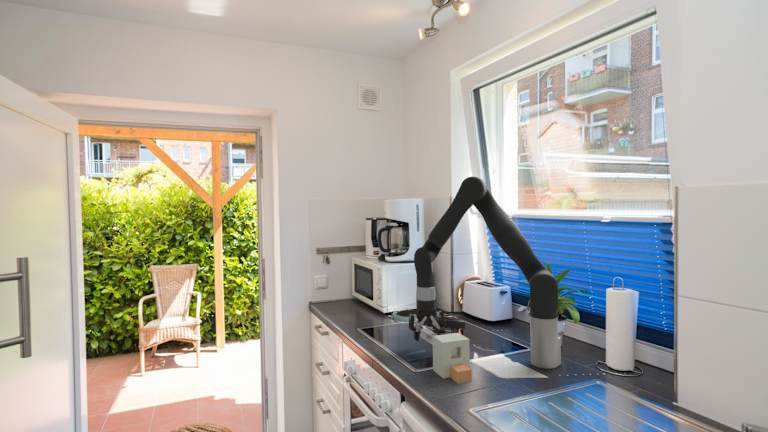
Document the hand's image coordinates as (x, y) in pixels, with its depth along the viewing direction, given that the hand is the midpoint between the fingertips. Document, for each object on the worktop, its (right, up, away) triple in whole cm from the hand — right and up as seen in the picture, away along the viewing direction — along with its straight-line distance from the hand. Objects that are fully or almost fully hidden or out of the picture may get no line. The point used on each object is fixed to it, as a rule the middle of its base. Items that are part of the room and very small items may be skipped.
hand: (426, 339), depth 167 cm
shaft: (+3, 0, -8) cm, 8 cm away
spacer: (+9, -6, -25) cm, 28 cm away
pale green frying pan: (-5, -5, +58) cm, 58 cm away
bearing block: (+7, -6, -19) cm, 21 cm away
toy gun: (+10, -5, +35) cm, 37 cm away
